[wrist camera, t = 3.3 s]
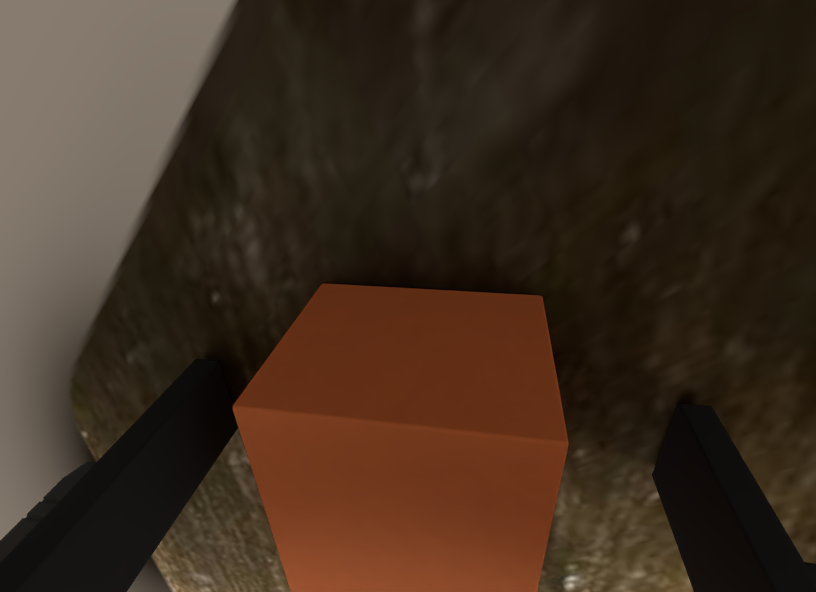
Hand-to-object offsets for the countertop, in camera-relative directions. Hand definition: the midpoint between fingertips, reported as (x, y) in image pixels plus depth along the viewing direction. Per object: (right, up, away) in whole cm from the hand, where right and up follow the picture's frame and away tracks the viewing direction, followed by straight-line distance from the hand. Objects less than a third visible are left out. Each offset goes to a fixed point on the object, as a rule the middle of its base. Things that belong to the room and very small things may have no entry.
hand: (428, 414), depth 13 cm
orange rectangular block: (0, 0, 0) cm, 0 cm away
